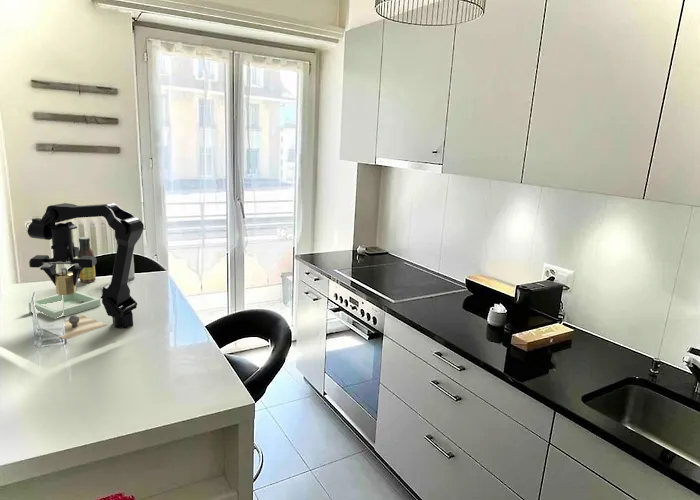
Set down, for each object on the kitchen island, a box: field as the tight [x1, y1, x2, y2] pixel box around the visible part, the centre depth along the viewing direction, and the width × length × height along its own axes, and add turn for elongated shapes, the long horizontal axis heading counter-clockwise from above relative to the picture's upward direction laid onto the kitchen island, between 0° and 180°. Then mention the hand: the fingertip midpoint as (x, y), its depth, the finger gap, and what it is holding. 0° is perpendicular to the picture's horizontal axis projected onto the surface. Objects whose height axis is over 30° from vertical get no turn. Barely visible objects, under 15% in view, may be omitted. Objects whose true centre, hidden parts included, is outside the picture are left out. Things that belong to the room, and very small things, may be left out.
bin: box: [27, 290, 102, 319], centre depth 166 cm, size 16×16×4 cm
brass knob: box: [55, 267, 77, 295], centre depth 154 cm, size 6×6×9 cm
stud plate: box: [57, 314, 108, 341], centre depth 151 cm, size 14×14×6 cm
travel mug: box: [116, 242, 136, 282], centre depth 202 cm, size 6×7×20 cm
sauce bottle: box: [76, 236, 97, 284], centre depth 196 cm, size 6×6×20 cm
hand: (65, 285), depth 155 cm, fingers closed on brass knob, 5 cm apart
